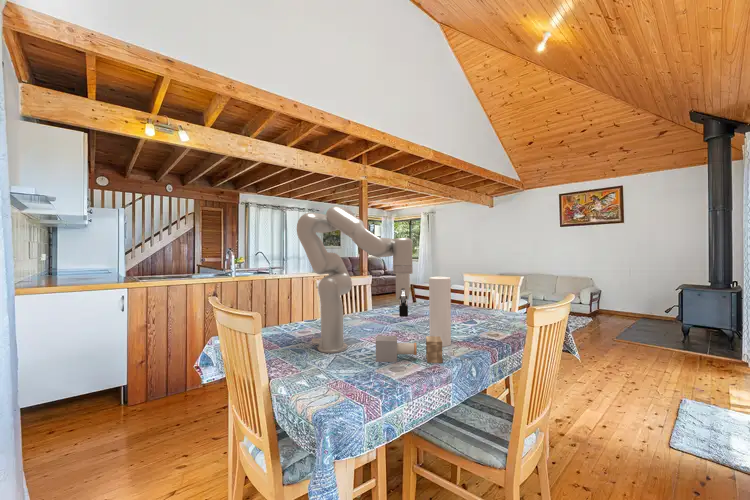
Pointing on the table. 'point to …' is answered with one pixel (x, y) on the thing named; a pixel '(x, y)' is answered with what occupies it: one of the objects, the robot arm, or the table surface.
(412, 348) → the tube
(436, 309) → the cylinder container
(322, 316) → the robot arm
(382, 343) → the grey block
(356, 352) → the table surface
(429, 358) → the socket
